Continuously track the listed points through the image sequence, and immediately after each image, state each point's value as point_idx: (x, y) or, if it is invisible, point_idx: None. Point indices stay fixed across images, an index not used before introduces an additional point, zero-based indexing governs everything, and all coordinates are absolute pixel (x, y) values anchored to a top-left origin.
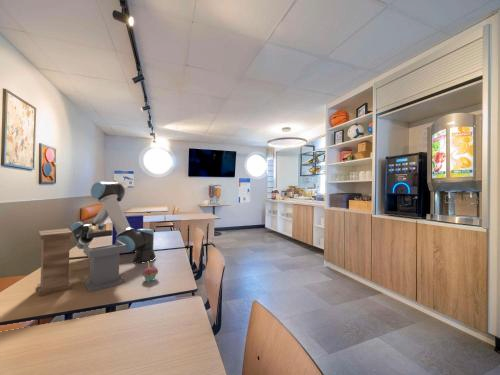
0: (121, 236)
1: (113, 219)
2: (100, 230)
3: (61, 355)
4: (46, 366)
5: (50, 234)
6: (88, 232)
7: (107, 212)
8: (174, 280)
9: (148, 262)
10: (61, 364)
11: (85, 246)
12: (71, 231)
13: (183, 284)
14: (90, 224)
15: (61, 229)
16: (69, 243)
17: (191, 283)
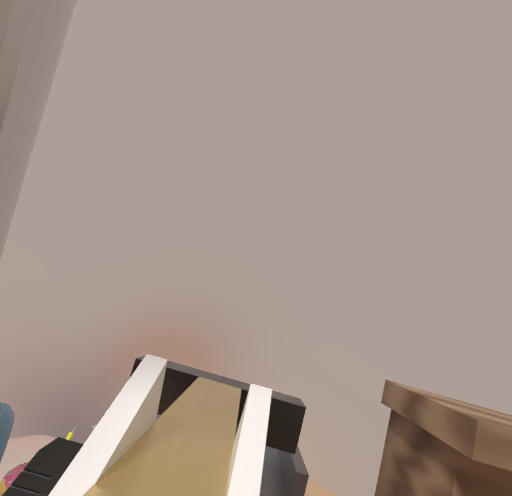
0: (13, 412)
1: (4, 243)
2: (202, 382)
3: (313, 492)
4: (327, 493)
5: (479, 406)
6: (296, 403)
7: (3, 88)
8: (7, 468)
9: (72, 434)
10: (311, 484)
11: (300, 456)
12: (395, 383)
13: (31, 448)
14: (261, 388)
15: (506, 424)
16: (383, 451)
17: (17, 438)
